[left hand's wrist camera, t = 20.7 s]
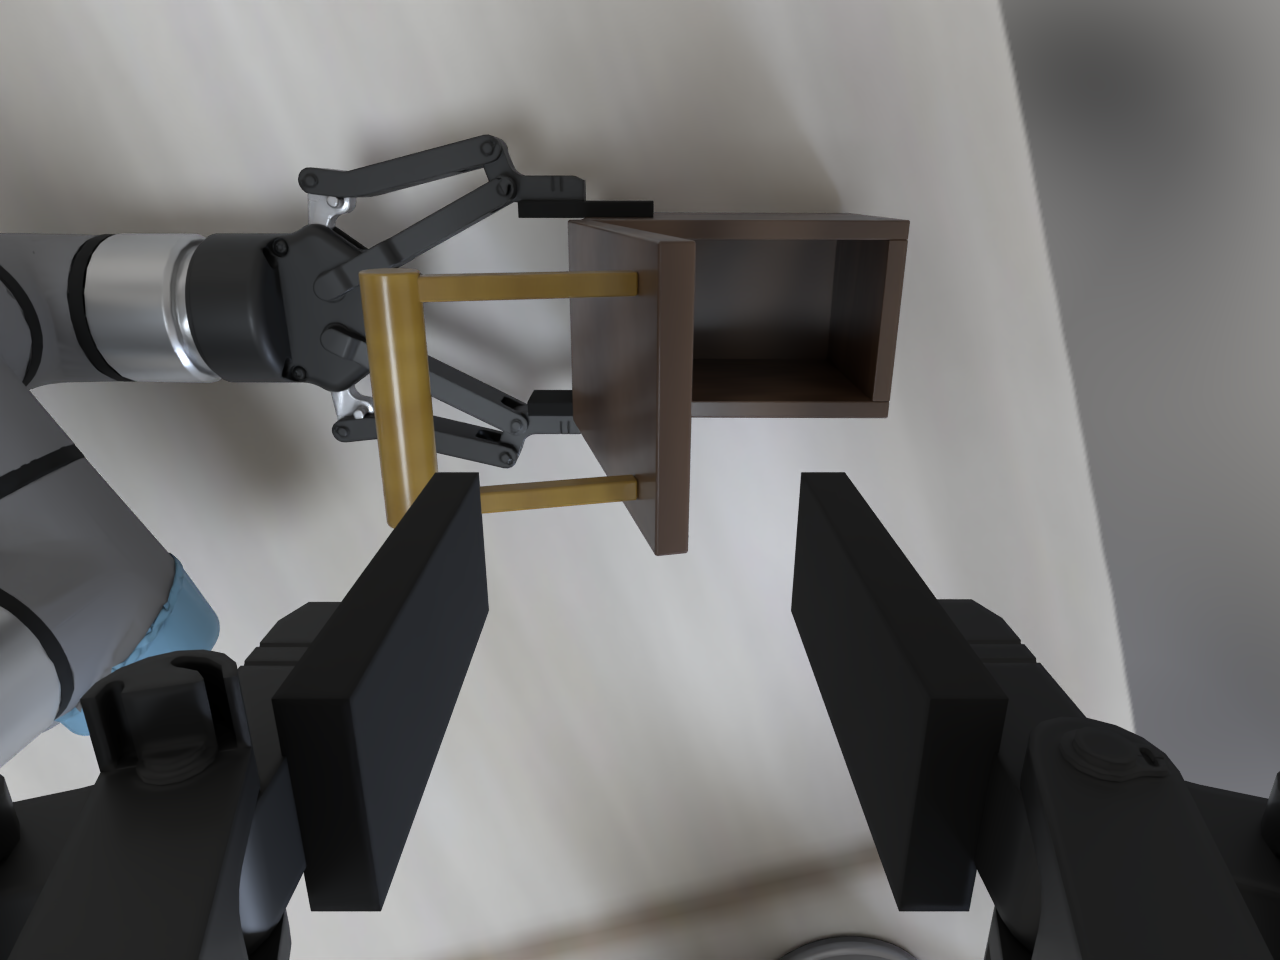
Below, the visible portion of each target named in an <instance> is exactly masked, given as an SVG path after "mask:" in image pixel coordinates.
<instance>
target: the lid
mask: <svg viewBox="0 0 1280 960" xmlns="http://www.w3.org/2000/svg"><path fill="white" fill-rule="evenodd" d="M568 247H569V272H522V273H474V274H426V275H420V271H419V270H417V269H410V268H380V269H368V270H362V271H360V272H359V274H358V275H359V284H360V293H361V301H362V310H363V318H364V327H365V336H366V344H367V353H368V362H369V370H370V379H371V388H372V396H373V405H374V414H375V422H376V431H377V439H378V448H379V457H380V465H381V474H382V483H383V491H384V500H385V509H386V517H387V523H388V525H389V526H390V527H392V528H394V529H395V527H396V526H397V524H398V523H399V522H400V520H401V519H402V518H403V516H404V515H405V513H406V512H407V511H408V509H409V508H410V507H411V505H412V504H413V502H414V501H415V500H416V498H417V497H418V496H419V494H420V493H421V491H422V490H423V489H424V487H425V486H426V484H427V483H428V482H429V480H430V479H431V478H432V476H433V475H434V473H435V472H438V465H437V454H436V443H435V432H434V421H433V410H432V399H431V387H430V376H429V365H428V354H427V343H426V332H425V320H424V309H423V302H448V301H483V300H519V299H554V298H570V321H571V358H572V394H573V421H574V422H575V424H576V426H577V427H578V429H579V431H580V432H581V434H582V436H583V437H584V439H585V441H586V442H587V444H588V445H589V447H590V449H591V450H592V452H593V454H594V455H595V457H596V459H597V460H598V462H599V463H600V465H601V467H602V468H603V470H604V472H605V473H606V475H607V477H594V478H582V479H569V480H557V481H544V482H532V483H519V484H507V485H494V486H482V487H480V497H481V511H482V513H494V512H505V511H517V510H528V509H539V508H551V507H562V506H574V505H585V504H596V503H608V502H619V501H623V503H624V504H625V506H626V508H627V509H628V511H629V513H630V514H631V516H632V518H633V519H634V521H635V523H636V524H637V526H638V527H639V529H640V531H641V532H642V534H643V536H644V537H645V539H646V541H647V542H648V544H649V546H650V547H651V549H652V550H653V552H654V554H655V555H656V556H662V555H671V554H681V553H687V551H688V528H689V489H690V450H691V411H692V372H693V333H694V295H695V256H696V243H695V241H693V240H688V239H683V238H678V237H673V236H668V235H663V234H658V233H653V232H648V231H643V230H638V229H633V228H628V227H623V226H618V225H613V224H608V223H603V222H598V221H593V220H569V221H568Z"/></svg>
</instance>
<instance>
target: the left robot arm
mask: <svg viewBox="0 0 1280 960" xmlns="http://www.w3.org/2000/svg"><path fill="white" fill-rule="evenodd" d="M488 612H489V606H488V592H487V578H486V565H485V551H484V538H483V524H482V511H481V497H480V483H479V472H435V473H434V475H433V476H432V478H431V479H430V480H429V482H428V483H427V484H426V486H425V487H424V489H423V490H422V491H421V493H420V494H419V496H418V497H417V498H416V500H415V501H414V502H413V504H412V505H411V507H410V508H409V509H408V511H407V512H406V513H405V515H404V516H403V518H402V519H401V520H400V522H399V523H398V524H397V526H396V527H395V529H394V530H393V531H392V533H391V534H390V536H389V537H388V538H387V540H386V541H385V542H384V544H383V545H382V547H381V548H380V549H379V551H378V552H377V553H376V555H375V556H374V558H373V559H372V560H371V562H370V563H369V564H368V566H367V567H366V569H365V570H364V571H363V573H362V574H361V576H360V577H359V578H358V580H357V581H356V582H355V584H354V585H353V587H352V588H351V589H350V591H349V592H348V593H347V595H346V596H345V598H344V599H343V600H342V602H308V603H306V604H305V605H303V606H302V607H300V608H298V609H297V610H295V611H293V612H292V613H290V614H289V615H287V616H285V617H284V618H282V619H280V620H279V621H278V622H277V623H276V624H275V625H274V627H273V628H272V629H271V630H270V631H269V633H268V634H267V635H266V636H265V637H264V638H263V640H262V641H261V642H260V647H256V648H255V649H254V650H253V652H252V653H251V654H250V655H249V656H248V658H247V659H246V660H245V664H244V666H240V667H239V668H238V669H237V665H236V662H235V661H233V660H232V659H231V658H229V657H228V656H227V655H226V654H224V653H219V652H214V651H209V650H204V649H202V650H180V651H173V652H169V653H164V654H160V655H155V656H151V657H147V658H144V659H142V660H139V661H137V662H134V663H132V664H129V665H126V666H124V667H121V668H119V669H117V670H116V671H114V672H112V673H111V674H109V675H107V676H106V677H104V678H103V679H101V680H99V681H98V682H96V683H95V684H94V685H93V686H92V687H91V688H90V689H89V690H88V691H87V692H86V693H85V694H84V695H83V696H82V697H81V698H80V702H81V706H82V709H83V713H84V716H85V720H86V723H87V727H88V730H89V734H90V737H91V741H92V744H93V748H94V751H95V755H96V758H97V762H98V765H99V769H100V772H101V773H100V775H99V777H98V779H97V781H96V783H95V785H91V786H88V787H84V788H80V789H75V790H70V791H65V792H60V793H56V794H51V795H46V796H41V797H36V798H32V799H27V800H22V801H17V802H12V799H11V796H10V793H9V790H8V788H7V785H6V782H5V779H4V777H3V776H2V775H1V774H0V960H289V958H290V950H291V936H290V928H289V922H288V917H287V912H286V907H287V905H288V903H289V901H290V899H291V897H292V895H293V893H294V891H295V889H296V887H297V884H298V882H299V880H300V878H301V876H302V874H303V872H304V876H305V882H306V887H307V892H308V898H309V903H310V908H311V911H381V910H382V907H383V904H384V901H385V898H386V896H387V893H388V890H389V887H390V884H391V882H392V879H393V876H394V873H395V871H396V868H397V865H398V862H399V859H400V857H401V854H402V851H403V848H404V846H405V843H406V840H407V837H408V834H409V832H410V829H411V826H412V823H413V820H414V818H415V815H416V812H417V809H418V807H419V804H420V801H421V798H422V795H423V793H424V790H425V787H426V784H427V781H428V779H429V776H430V773H431V770H432V768H433V765H434V762H435V759H436V756H437V754H438V751H439V748H440V745H441V743H442V740H443V737H444V734H445V731H446V729H447V726H448V723H449V720H450V717H451V715H452V712H453V709H454V706H455V704H456V701H457V698H458V695H459V692H460V690H461V687H462V684H463V681H464V678H465V676H466V673H467V670H468V667H469V665H470V662H471V659H472V656H473V653H474V651H475V648H476V645H477V642H478V639H479V637H480V634H481V631H482V628H483V626H484V623H485V620H486V617H487V614H488ZM791 612H792V614H793V617H794V620H795V623H796V626H797V628H798V631H799V634H800V637H801V639H802V642H803V645H804V648H805V651H806V653H807V656H808V659H809V662H810V665H811V667H812V670H813V673H814V676H815V678H816V681H817V684H818V687H819V690H820V692H821V695H822V698H823V701H824V703H825V706H826V709H827V712H828V715H829V717H830V720H831V723H832V726H833V729H834V731H835V734H836V737H837V740H838V742H839V745H840V748H841V751H842V754H843V756H844V759H845V762H846V765H847V768H848V770H849V773H850V776H851V779H852V781H853V784H854V787H855V790H856V793H857V795H858V798H859V801H860V804H861V806H862V809H863V812H864V815H865V818H866V820H867V823H868V826H869V829H870V832H871V834H872V837H873V840H874V843H875V845H876V848H877V851H878V854H879V857H880V859H881V862H882V865H883V868H884V871H885V873H886V876H887V879H888V882H889V884H890V887H891V890H892V893H893V896H894V898H895V901H896V904H897V907H898V909H899V911H969V908H970V903H971V898H972V892H973V887H974V882H975V876H976V871H977V870H978V872H979V874H980V876H981V878H982V880H983V882H984V884H985V886H986V888H987V890H988V892H989V894H990V896H991V898H992V900H993V902H994V904H995V907H994V912H993V917H992V922H991V927H990V932H989V937H988V942H987V947H986V952H985V957H984V960H1280V772H1278V773H1277V776H1276V779H1275V782H1274V785H1273V788H1272V791H1271V794H1270V796H1269V799H1267V798H1262V797H1257V796H1252V795H1247V794H1242V793H1237V792H1233V791H1228V790H1223V789H1218V788H1213V787H1208V786H1203V785H1199V784H1195V783H1191V782H1188V781H1184V779H1183V777H1182V775H1181V773H1180V771H1179V770H1178V769H1177V768H1176V766H1175V765H1174V764H1173V763H1172V761H1171V760H1170V759H1169V758H1168V756H1167V755H1166V754H1165V753H1164V752H1162V751H1161V750H1160V749H1158V748H1157V747H1155V746H1154V745H1153V744H1151V743H1150V742H1148V741H1147V740H1146V739H1144V738H1143V737H1140V736H1138V735H1136V734H1134V733H1132V732H1129V731H1127V730H1125V729H1123V728H1121V727H1118V726H1116V725H1113V724H1109V723H1105V722H1101V721H1097V720H1093V719H1089V718H1086V717H1085V715H1084V714H1083V713H1082V712H1081V711H1080V710H1079V708H1078V707H1077V706H1076V705H1075V704H1074V702H1073V701H1072V700H1071V699H1070V698H1069V697H1068V695H1067V694H1066V693H1065V692H1064V691H1063V689H1062V688H1061V687H1060V686H1059V685H1058V684H1057V682H1056V681H1055V680H1054V679H1053V678H1052V676H1051V675H1050V674H1049V673H1048V672H1047V671H1046V669H1045V668H1044V667H1043V666H1042V665H1041V663H1036V658H1035V656H1034V655H1033V654H1032V653H1031V652H1030V650H1029V649H1028V648H1027V647H1026V646H1025V644H1021V640H1020V639H1019V637H1018V636H1017V635H1016V634H1015V633H1014V631H1013V630H1012V629H1011V628H1010V627H1009V626H1008V624H1007V623H1006V622H1005V621H1004V620H1003V618H1001V617H1000V616H998V615H996V614H995V613H993V612H991V611H990V610H988V609H986V608H985V607H983V606H982V605H980V604H978V603H977V602H975V601H973V600H972V599H936V598H935V596H934V595H933V593H932V592H931V591H930V589H929V588H928V587H927V585H926V584H925V582H924V581H923V580H922V578H921V577H920V576H919V574H918V573H917V571H916V570H915V569H914V567H913V566H912V564H911V563H910V562H909V560H908V559H907V558H906V556H905V555H904V553H903V552H902V551H901V549H900V548H899V547H898V545H897V544H896V542H895V541H894V540H893V538H892V537H891V535H890V534H889V533H888V531H887V530H886V529H885V527H884V526H883V524H882V523H881V522H880V520H879V519H878V518H877V516H876V515H875V513H874V512H873V511H872V509H871V508H870V507H869V505H868V504H867V502H866V501H865V500H864V498H863V497H862V495H861V494H860V493H859V491H858V490H857V489H856V487H855V486H854V484H853V483H852V482H851V480H850V479H849V478H848V476H847V475H846V473H845V472H801V484H800V497H799V511H798V524H797V538H796V551H795V565H794V579H793V592H792V606H791ZM779 960H917V959H915V958H914V957H913V956H912V955H911V954H909V953H908V952H906V951H905V950H903V949H901V948H899V947H897V946H895V945H893V944H890V943H887V942H884V941H881V940H877V939H872V938H865V937H836V938H829V939H824V940H820V941H816V942H813V943H810V944H807V945H804V946H802V947H800V948H797V949H795V950H794V951H792V952H790V953H788V954H787V955H785V956H783V957H782V958H781V959H779Z"/></svg>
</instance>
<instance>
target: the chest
mask: <svg viewBox="0 0 1280 960" xmlns="http://www.w3.org/2000/svg"><path fill="white" fill-rule="evenodd" d="M582 220H593V221H598V222H603V223H608V224H613V225H618V226H623V227H628V228H633V229H638V230H643V231H648V232H653V233H658V234H663V235H668V236H673V237H678V238H683V239H688V240H693V241H695V243H696V256H695V295H694V333H693V372H692V411H691V417H714V418H887V417H888V409H889V401H890V393H891V384H892V375H893V367H894V358H895V349H896V340H897V331H898V323H899V314H900V305H901V296H902V287H903V279H904V270H905V261H906V252H907V243H908V240H907V239H908V233H909V224H910V221H909V220H902V219H893V218H885V217H876V216H868V215H859V214H851V213H653V217H586V218H584V219H582Z"/></svg>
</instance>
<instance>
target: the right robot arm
mask: <svg viewBox="0 0 1280 960" xmlns="http://www.w3.org/2000/svg"><path fill="white" fill-rule="evenodd" d="M480 168H484V170H485V172H486V175H487V177H488V180H489V182H487V183H486V184H484V185H482V186H480V187H479V188H477V189H475V190H473V191H472V192H470V193H468V194H466V195H465V196H463V197H461V198H459V199H458V200H456V201H454V202H452V203H451V204H449V205H447V206H445V207H444V208H442V209H440V210H438V211H437V212H435V213H433V214H431V215H430V216H428V217H426V218H424V219H423V220H421V221H419V222H417V223H416V224H414V225H412V226H410V227H409V228H407V229H405V230H403V231H402V232H400V233H398V234H396V235H395V236H393V237H391V238H389V239H387V240H385V241H383V242H381V243H379V244H377V245H375V246H373V247H372V248H370V249H367V248H366V247H364V246H363V245H362V244H360V243H359V242H357V241H356V240H354V239H353V238H351V237H350V236H349V235H347V234H346V233H344V232H343V231H341V230H340V229H339V228H337V227H335V222H336V219H337V218H338V217H339V216H340V215H341V214H345V213H350V212H352V211H353V210H354V208H355V206H356V197H372V196H377V195H381V194H385V193H389V192H393V191H397V190H400V189H404V188H408V187H412V186H416V185H419V184H423V183H427V182H431V181H435V180H438V179H442V178H446V177H450V176H454V175H457V174H461V173H465V172H469V171H473V170H476V169H480ZM298 182H299V185H300V187H301V188H302V190H304V191H305V192H306V193H308V219H309V225H306V226H304V227H303V228H301V229H300V230H298V231H296V232H294V233H289V234H212V235H210V236H208V237H207V238H206V237H204V236H202V235H200V234H160V233H118V234H104V235H69V234H32V233H0V768H1V767H2V766H3V765H5V764H6V763H7V762H8V761H9V760H10V759H12V758H13V757H14V756H15V755H16V754H17V753H19V752H20V751H21V750H22V749H23V748H24V747H26V746H27V745H28V744H29V743H30V742H31V741H33V740H34V739H35V738H36V737H37V736H38V735H40V734H41V733H43V732H45V731H47V730H49V729H51V728H53V727H54V726H56V725H58V724H59V723H62V724H63V725H64V726H65V727H67V728H68V729H69V730H70V731H71V732H73V733H75V734H78V735H84V736H88V735H90V734H89V730H88V727H87V723H86V720H85V716H84V713H83V709H82V706H81V702H80V698H81V697H82V696H83V695H84V694H85V693H86V692H87V691H88V690H89V689H90V688H91V687H92V686H93V685H94V684H95V683H96V682H98V681H99V680H101V679H103V678H104V677H106V676H107V675H109V674H111V673H112V672H114V671H116V670H117V669H119V668H121V667H124V666H126V665H129V664H132V663H134V662H137V661H139V660H142V659H144V658H147V657H151V656H155V655H160V654H164V653H169V652H173V651H180V650H202V649H204V650H209V651H211V650H212V648H213V646H214V645H215V643H216V641H217V639H218V636H219V631H220V625H219V620H218V617H217V615H216V613H215V612H214V611H213V609H212V608H211V606H210V605H209V604H208V602H207V601H206V599H205V598H204V597H203V595H202V594H201V592H200V591H199V590H198V588H197V587H196V586H195V584H194V583H193V581H192V580H191V579H190V577H189V576H188V574H187V573H186V572H185V570H184V569H183V566H182V564H181V562H180V561H179V560H178V559H177V558H176V557H175V556H174V555H172V554H171V553H168V552H167V551H166V549H165V548H164V547H163V546H162V545H161V544H160V543H159V542H158V540H157V539H156V538H155V537H154V536H153V535H152V534H151V532H150V531H149V530H148V529H147V528H146V527H145V526H144V524H143V523H142V522H141V521H140V520H139V519H138V518H137V516H136V515H135V514H134V513H133V512H132V511H131V510H130V508H129V507H128V506H127V505H126V504H125V503H124V502H123V501H122V499H121V498H120V497H119V496H118V495H117V494H116V493H115V491H114V490H113V489H112V488H111V487H110V486H109V485H108V483H107V482H106V481H105V480H104V479H103V478H102V477H101V475H100V474H99V473H98V472H97V471H96V470H95V469H94V467H93V466H92V465H91V464H90V463H89V462H88V461H87V459H86V458H85V457H84V455H83V454H82V453H81V452H80V450H79V449H78V448H77V447H76V446H75V444H74V443H73V441H72V440H71V439H70V438H69V437H68V436H67V434H66V433H65V432H64V431H63V430H62V429H61V427H60V426H59V425H58V424H57V423H56V422H55V420H54V419H53V418H52V417H51V416H50V414H49V413H48V412H47V411H46V410H45V409H44V407H43V406H42V405H41V404H40V403H39V402H38V400H37V399H36V398H35V397H34V396H33V395H32V393H31V392H30V391H29V390H30V389H33V388H36V387H39V386H43V385H47V384H54V383H63V382H100V381H134V382H137V381H139V382H201V383H211V382H216V381H219V380H221V379H224V380H226V381H229V382H306V383H311V384H315V385H317V386H320V387H322V388H323V389H325V390H328V391H331V394H332V398H333V402H334V406H335V410H336V414H337V418H338V421H337V422H336V423H335V424H334V425H333V427H332V433H333V435H334V437H335V438H336V439H337V440H339V441H341V442H353V441H363V440H372V439H377V431H376V422H375V414H374V405H373V398H372V397H369V396H363V395H361V394H360V393H359V392H358V391H357V390H356V388H355V384H356V383H357V382H359V381H360V380H361V379H363V378H364V377H365V376H366V375H368V374H369V373H370V370H369V362H368V353H367V344H366V336H365V327H364V318H363V310H362V301H361V293H360V284H359V275H358V274H359V272H360V271H362V270H368V269H380V268H399V267H400V266H402V265H404V264H406V263H408V262H409V261H411V260H413V259H414V258H415V257H417V256H419V255H421V254H422V253H424V252H426V251H428V250H429V249H431V248H433V247H435V246H437V245H438V244H440V243H442V242H444V241H445V240H447V239H449V238H451V237H453V236H454V235H456V234H458V233H460V232H461V231H463V230H465V229H467V228H469V227H470V226H472V225H474V224H476V223H477V222H479V221H481V220H483V219H485V218H486V217H488V216H490V215H492V214H493V213H495V212H497V211H499V210H501V209H502V208H504V207H506V206H508V205H509V204H511V203H513V202H518V215H519V218H586V217H653V212H654V201H586V184H585V180H583V179H581V178H578V177H576V176H525V175H522V174H520V173H519V172H518V171H517V170H516V169H515V167H514V166H513V163H512V161H511V158H510V155H509V153H508V147H507V145H506V143H505V142H504V141H503V140H502V139H499V138H497V137H494V136H491V135H482V136H478V137H474V138H470V139H467V140H463V141H459V142H455V143H452V144H448V145H444V146H440V147H437V148H433V149H429V150H425V151H422V152H418V153H414V154H410V155H407V156H403V157H399V158H395V159H392V160H388V161H384V162H380V163H377V164H373V165H369V166H365V167H362V168H358V169H354V170H351V171H343V170H335V169H325V168H305V169H303V170H301V172H300V173H299V177H298ZM428 365H429V376H430V387H431V396H432V397H434V398H436V399H438V400H440V401H442V402H444V403H446V404H449V405H451V406H453V407H455V408H457V409H459V410H461V411H463V412H465V413H467V414H469V415H471V416H473V417H475V418H477V419H479V420H482V421H484V422H486V423H488V424H490V425H492V426H494V427H496V428H498V429H500V430H502V431H503V432H502V431H497V430H493V429H489V428H485V427H480V426H476V425H472V424H467V423H463V422H459V421H454V420H450V419H446V418H441V417H437V416H433V421H434V432H435V443H436V453H440V454H444V455H449V456H453V457H458V458H462V459H466V460H471V461H475V462H479V463H484V464H488V465H493V466H497V467H501V468H510V467H512V466H514V465H515V463H516V461H517V459H518V457H519V455H520V453H521V450H522V448H523V444H524V441H525V439H526V438H527V437H528V436H530V435H532V434H581V432H580V431H579V429H578V427H577V426H576V424H575V422H574V421H573V394H572V390H534V391H533V393H532V395H531V397H530V399H529V400H528V403H527V404H526V403H524V402H522V401H520V400H518V399H516V398H514V397H512V396H509V395H507V394H505V393H503V392H501V391H499V390H497V389H495V388H493V387H491V386H489V385H487V384H485V383H483V382H481V381H479V380H477V379H475V378H473V377H471V376H469V375H467V374H465V373H463V372H461V371H459V370H457V369H455V368H453V367H451V366H449V365H447V364H445V363H443V362H441V361H439V360H437V359H434V358H432V357H430V356H428Z"/></svg>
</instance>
